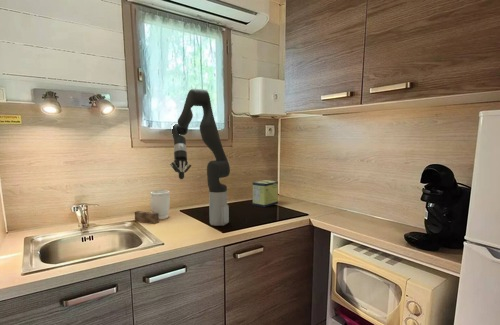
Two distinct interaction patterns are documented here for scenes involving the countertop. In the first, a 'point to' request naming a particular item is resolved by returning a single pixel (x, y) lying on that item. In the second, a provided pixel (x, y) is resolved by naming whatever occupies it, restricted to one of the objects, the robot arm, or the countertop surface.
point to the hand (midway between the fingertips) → (181, 178)
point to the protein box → (265, 193)
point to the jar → (160, 203)
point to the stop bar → (146, 217)
